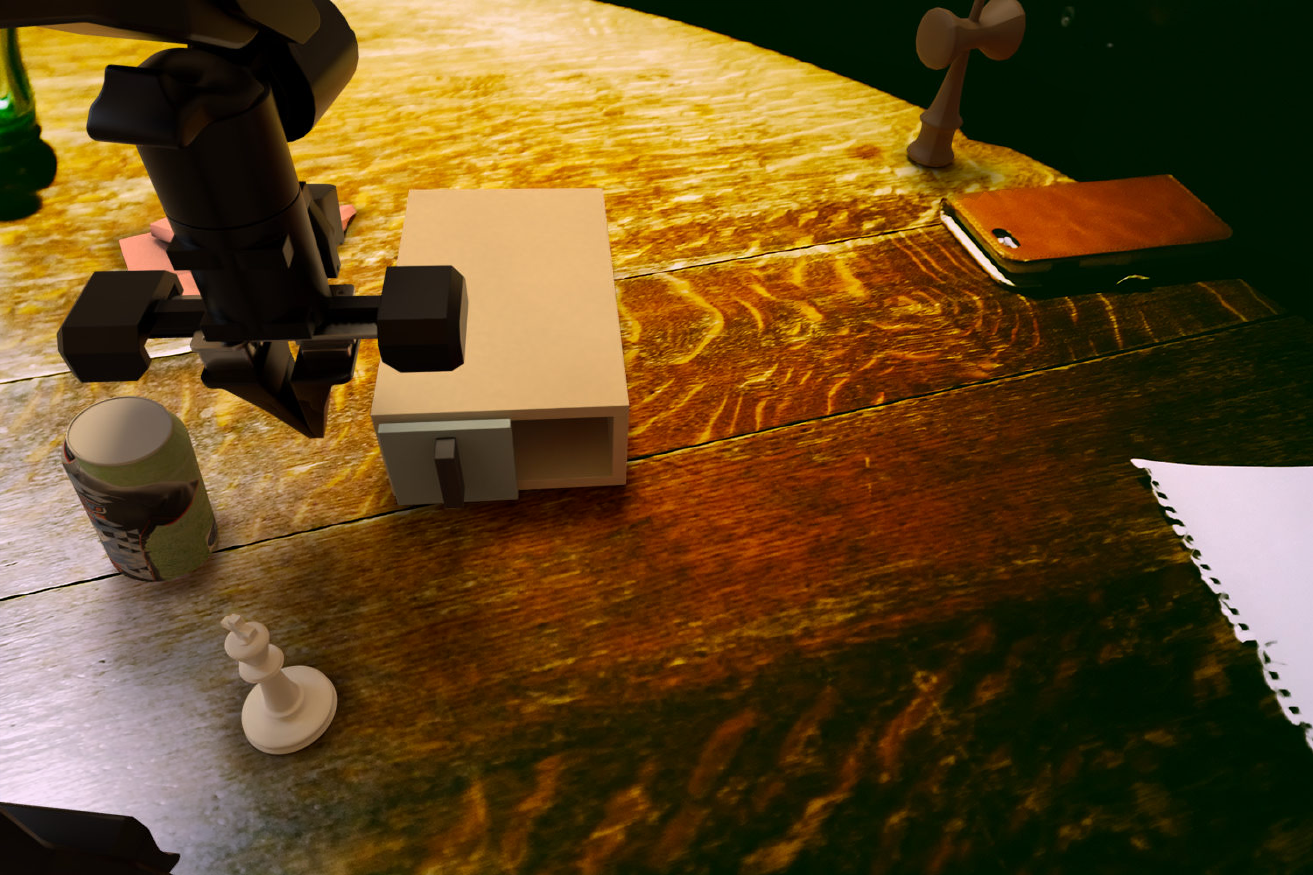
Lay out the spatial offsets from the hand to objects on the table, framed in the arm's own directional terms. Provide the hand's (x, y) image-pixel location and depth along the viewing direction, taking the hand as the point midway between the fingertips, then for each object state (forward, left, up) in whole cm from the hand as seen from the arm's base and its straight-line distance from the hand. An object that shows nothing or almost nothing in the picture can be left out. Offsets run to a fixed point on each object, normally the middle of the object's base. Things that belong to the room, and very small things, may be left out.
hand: (318, 432), depth 48 cm
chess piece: (-13, +1, -9) cm, 16 cm away
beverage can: (-2, +10, -9) cm, 14 cm away
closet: (+15, -11, -9) cm, 20 cm away
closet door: (0, -7, -8) cm, 11 cm away
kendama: (+47, -57, -9) cm, 74 cm away
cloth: (+32, +13, -9) cm, 36 cm away
